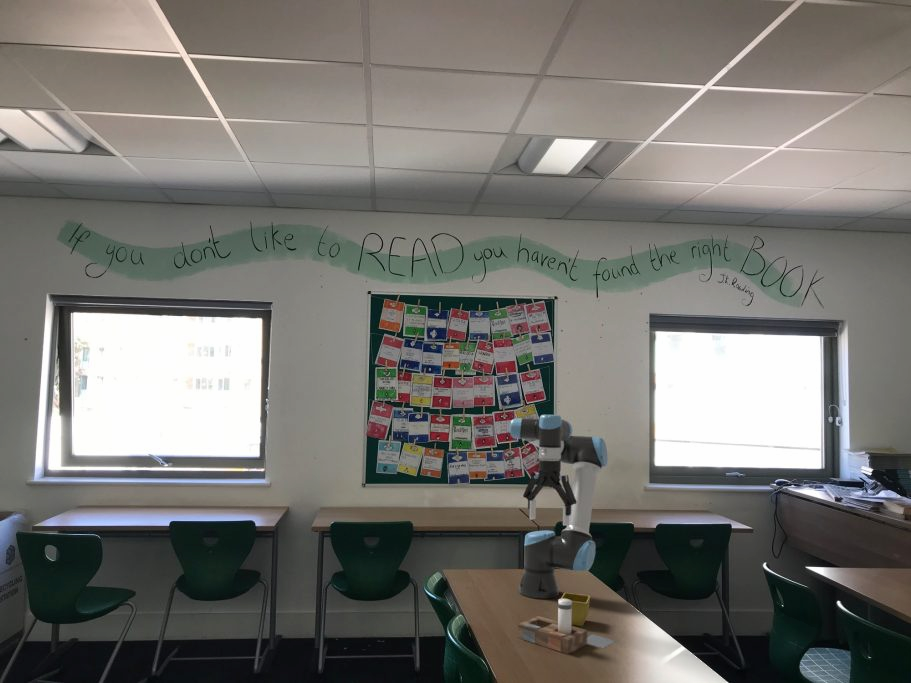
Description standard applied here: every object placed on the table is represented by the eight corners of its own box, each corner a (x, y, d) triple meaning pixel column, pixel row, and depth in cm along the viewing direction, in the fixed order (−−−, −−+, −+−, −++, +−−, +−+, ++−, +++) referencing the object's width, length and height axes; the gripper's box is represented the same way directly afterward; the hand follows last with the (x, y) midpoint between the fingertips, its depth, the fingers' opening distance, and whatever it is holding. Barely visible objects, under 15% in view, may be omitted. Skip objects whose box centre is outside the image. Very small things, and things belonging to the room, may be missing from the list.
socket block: (537, 632, 210) (538, 615, 210) (587, 647, 198) (587, 629, 198) (517, 641, 201) (517, 623, 202) (567, 657, 189) (567, 638, 190)
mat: (592, 637, 206) (592, 634, 206) (615, 644, 201) (615, 641, 201) (579, 644, 200) (579, 640, 200) (602, 651, 195) (602, 648, 195)
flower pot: (590, 622, 220) (590, 595, 221) (586, 631, 212) (587, 602, 212) (564, 619, 223) (564, 592, 223) (559, 627, 214) (560, 599, 215)
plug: (562, 644, 200) (562, 597, 201) (573, 648, 197) (574, 600, 198) (554, 648, 197) (555, 600, 198) (566, 652, 194) (567, 603, 195)
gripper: (514, 457, 231) (513, 518, 229) (575, 463, 214) (574, 529, 213) (526, 456, 237) (525, 515, 235) (587, 462, 220) (586, 526, 218)
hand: (548, 522), depth 224 cm, fingers open, 13 cm apart
